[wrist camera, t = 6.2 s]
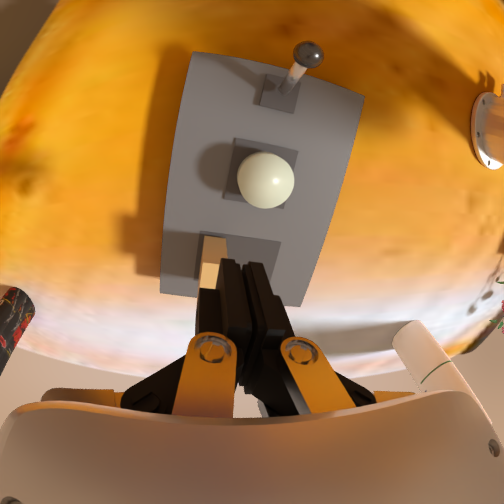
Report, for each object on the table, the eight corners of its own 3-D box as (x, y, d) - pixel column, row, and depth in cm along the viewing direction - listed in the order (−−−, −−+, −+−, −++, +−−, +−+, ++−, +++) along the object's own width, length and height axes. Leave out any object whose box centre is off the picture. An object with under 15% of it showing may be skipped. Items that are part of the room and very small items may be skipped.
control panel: (195, 58, 20) (192, 49, 17) (350, 97, 24) (367, 96, 21) (163, 277, 31) (159, 295, 28) (293, 292, 34) (301, 309, 31)
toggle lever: (273, 77, 19) (300, 32, 13) (296, 84, 19) (328, 41, 13) (270, 96, 19) (298, 52, 13) (294, 102, 19) (329, 62, 13)
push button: (242, 146, 21) (245, 149, 20) (293, 157, 22) (300, 161, 20) (232, 196, 23) (233, 203, 21) (281, 205, 24) (286, 212, 22)
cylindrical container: (389, 353, 45) (447, 457, 23) (394, 328, 41) (465, 443, 19) (419, 339, 45) (480, 434, 23) (425, 314, 41) (499, 416, 19)
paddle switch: (204, 235, 25) (202, 262, 21) (225, 238, 26) (228, 265, 21) (198, 280, 27) (196, 311, 23) (217, 282, 28) (219, 314, 24)
